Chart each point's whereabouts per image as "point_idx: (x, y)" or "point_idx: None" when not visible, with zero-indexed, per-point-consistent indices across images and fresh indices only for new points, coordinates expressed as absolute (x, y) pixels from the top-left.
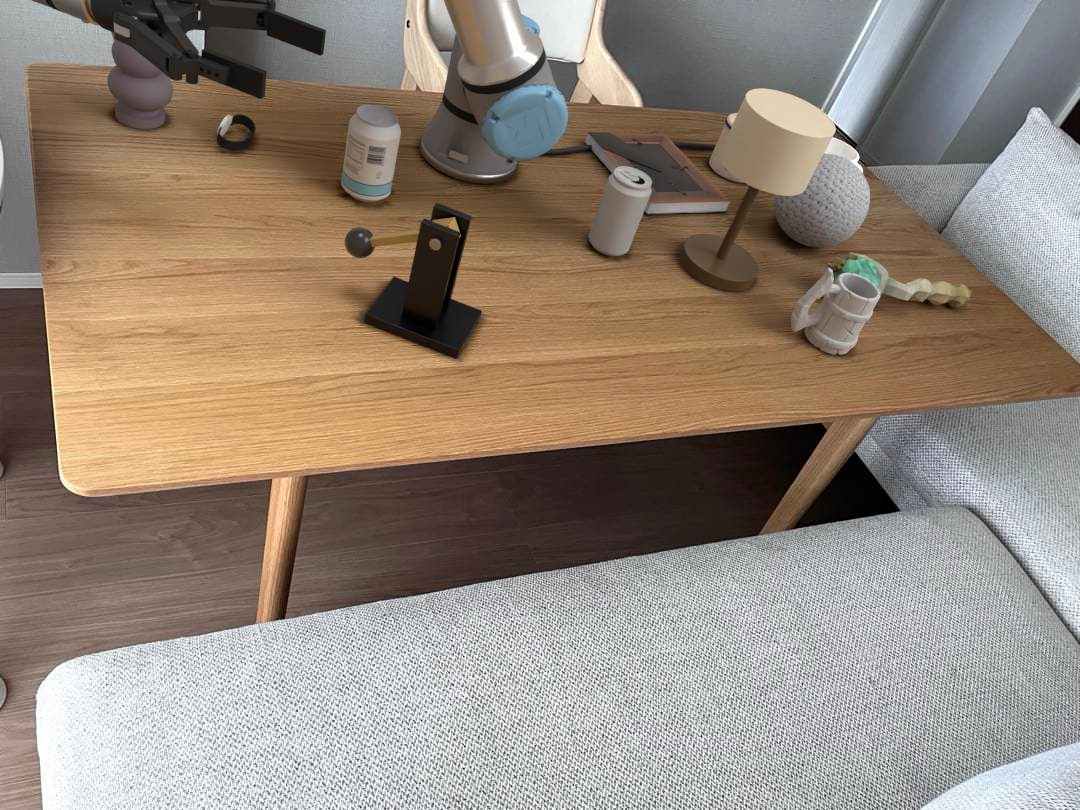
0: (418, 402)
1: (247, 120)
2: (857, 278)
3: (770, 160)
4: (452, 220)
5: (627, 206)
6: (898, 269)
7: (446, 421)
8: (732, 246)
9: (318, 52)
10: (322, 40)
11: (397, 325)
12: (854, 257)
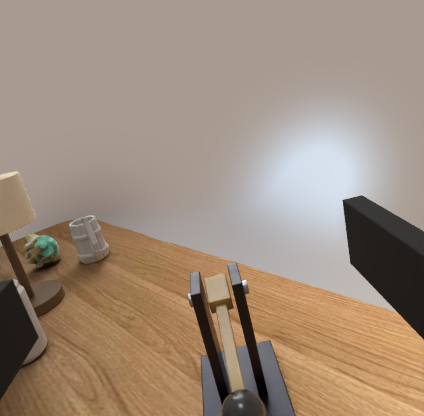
0: (348, 337)
1: None
2: (71, 224)
3: (24, 198)
4: (212, 276)
5: (27, 299)
6: (2, 263)
7: (345, 317)
8: None
9: (33, 335)
10: (20, 301)
11: (284, 388)
12: (35, 241)
